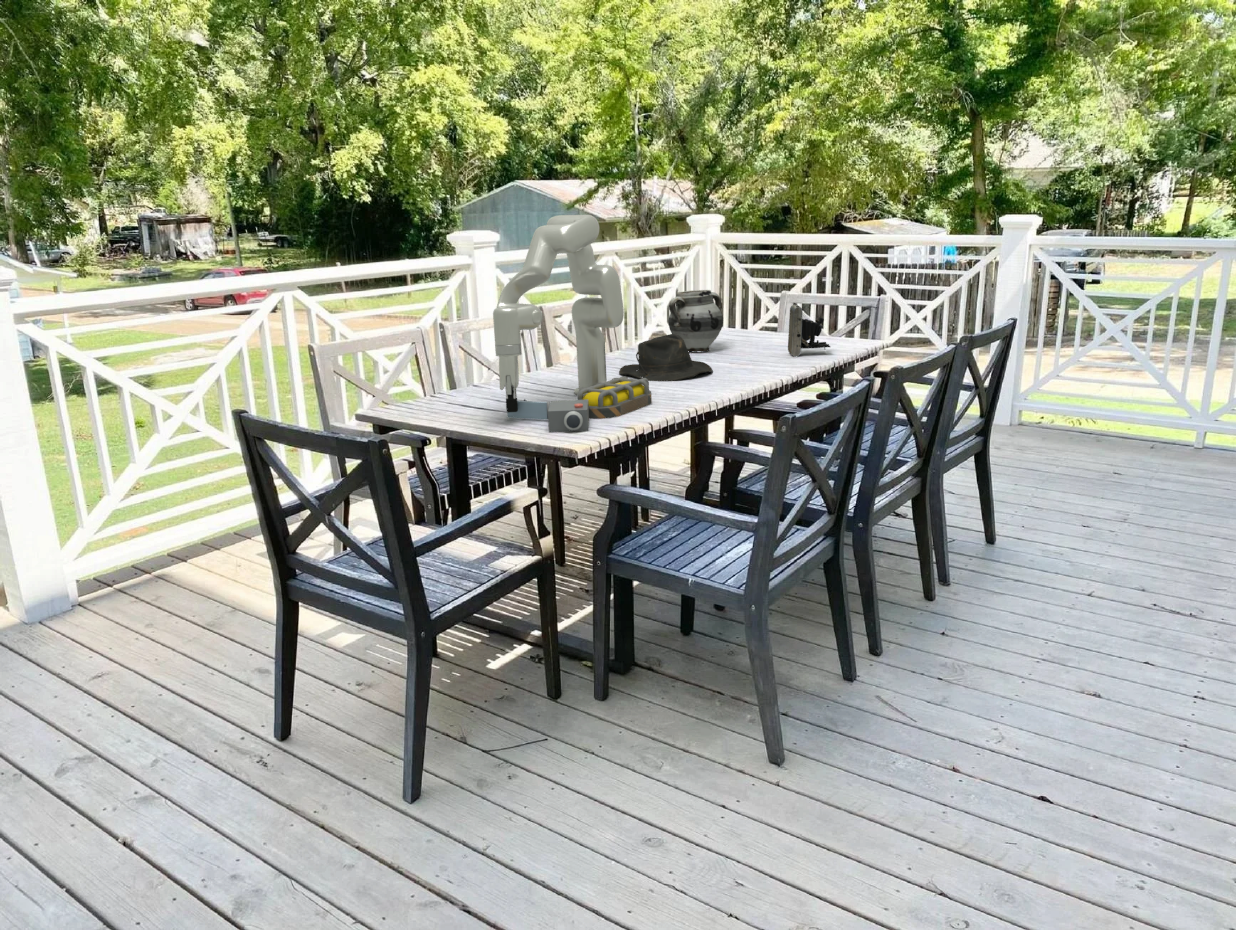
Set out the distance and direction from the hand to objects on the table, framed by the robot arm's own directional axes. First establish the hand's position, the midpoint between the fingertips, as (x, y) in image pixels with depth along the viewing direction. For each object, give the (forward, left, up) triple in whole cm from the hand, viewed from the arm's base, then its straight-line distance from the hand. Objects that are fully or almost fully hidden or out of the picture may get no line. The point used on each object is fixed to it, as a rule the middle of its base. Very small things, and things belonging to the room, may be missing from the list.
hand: (512, 411), depth 275 cm
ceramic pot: (-117, +65, -3) cm, 134 cm away
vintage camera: (-97, +108, -3) cm, 145 cm away
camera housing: (+8, +17, -3) cm, 19 cm away
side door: (-1, +5, -3) cm, 6 cm away
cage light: (-12, +31, -4) cm, 33 cm away
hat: (-70, +50, -4) cm, 86 cm away
